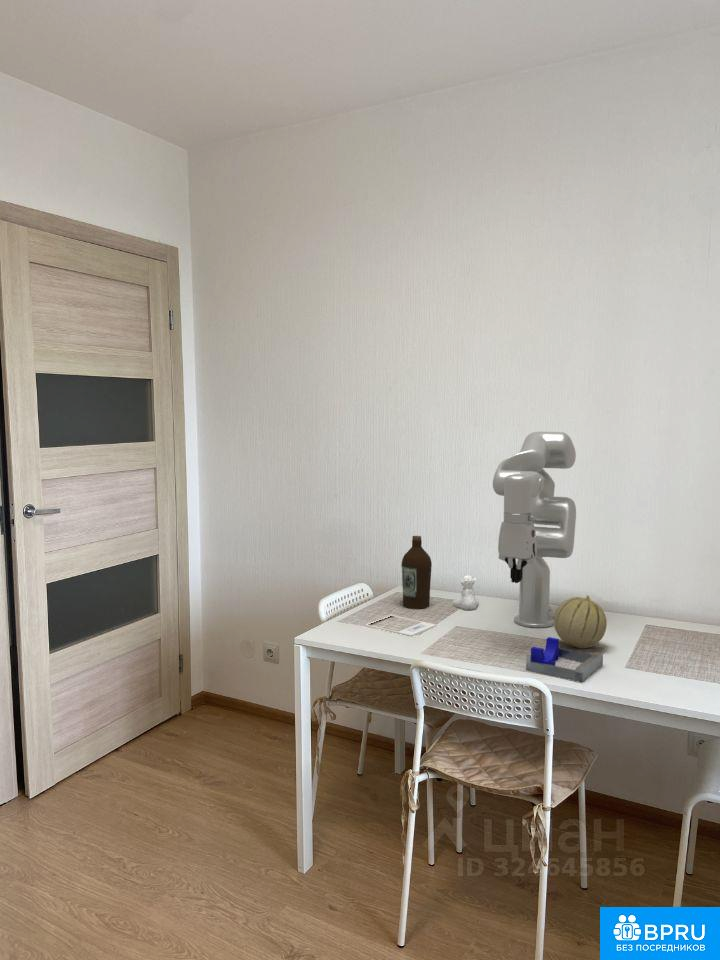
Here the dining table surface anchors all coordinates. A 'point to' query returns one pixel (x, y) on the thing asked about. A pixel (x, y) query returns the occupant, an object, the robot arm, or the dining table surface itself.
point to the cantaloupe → (580, 622)
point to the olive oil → (416, 576)
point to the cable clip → (546, 652)
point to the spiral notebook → (411, 630)
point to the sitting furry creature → (467, 594)
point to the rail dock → (579, 674)
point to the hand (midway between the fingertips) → (516, 581)
